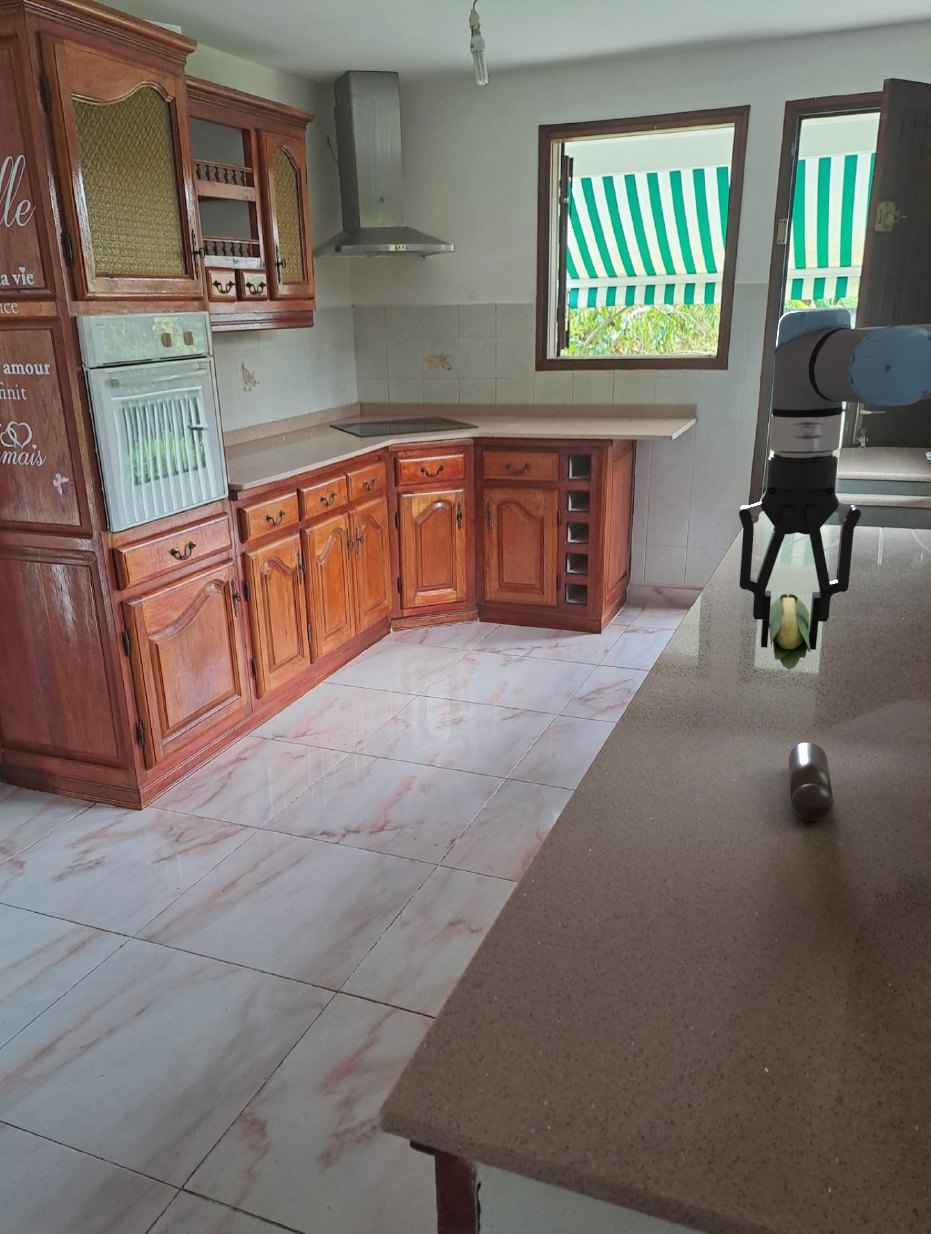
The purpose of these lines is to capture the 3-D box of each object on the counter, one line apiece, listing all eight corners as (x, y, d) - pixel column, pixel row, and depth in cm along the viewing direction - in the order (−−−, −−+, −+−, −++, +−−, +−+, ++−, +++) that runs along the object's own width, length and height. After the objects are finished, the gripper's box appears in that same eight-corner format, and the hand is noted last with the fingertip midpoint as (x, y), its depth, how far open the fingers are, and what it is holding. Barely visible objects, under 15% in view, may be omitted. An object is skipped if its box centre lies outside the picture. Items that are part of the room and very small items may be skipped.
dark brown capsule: (786, 767, 111) (789, 735, 109) (824, 770, 110) (827, 738, 108) (790, 826, 98) (793, 790, 97) (832, 830, 97) (836, 794, 96)
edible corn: (806, 624, 128) (809, 591, 126) (813, 674, 110) (816, 636, 108) (765, 623, 129) (767, 589, 128) (764, 672, 112) (767, 634, 110)
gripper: (721, 458, 111) (711, 651, 119) (892, 455, 106) (870, 658, 113) (723, 450, 118) (713, 633, 126) (884, 447, 112) (863, 639, 120)
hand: (787, 644), depth 119 cm, fingers closed on edible corn, 5 cm apart
